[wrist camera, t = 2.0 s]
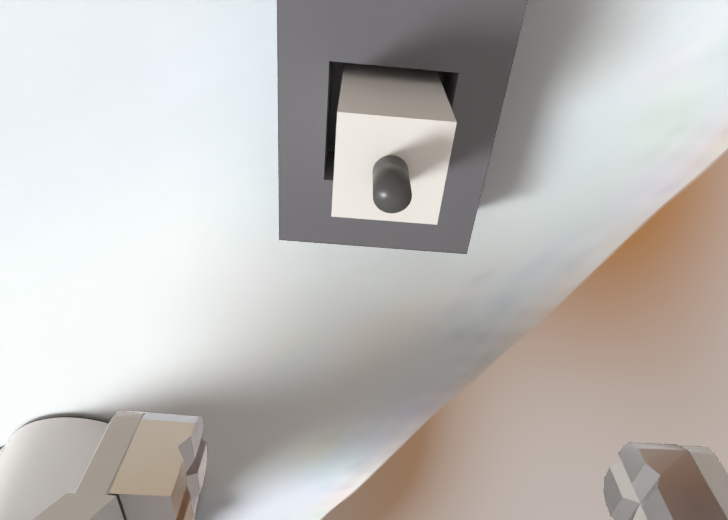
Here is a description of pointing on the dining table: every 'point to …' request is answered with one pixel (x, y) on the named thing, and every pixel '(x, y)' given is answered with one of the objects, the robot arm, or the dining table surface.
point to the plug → (391, 144)
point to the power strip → (393, 49)
